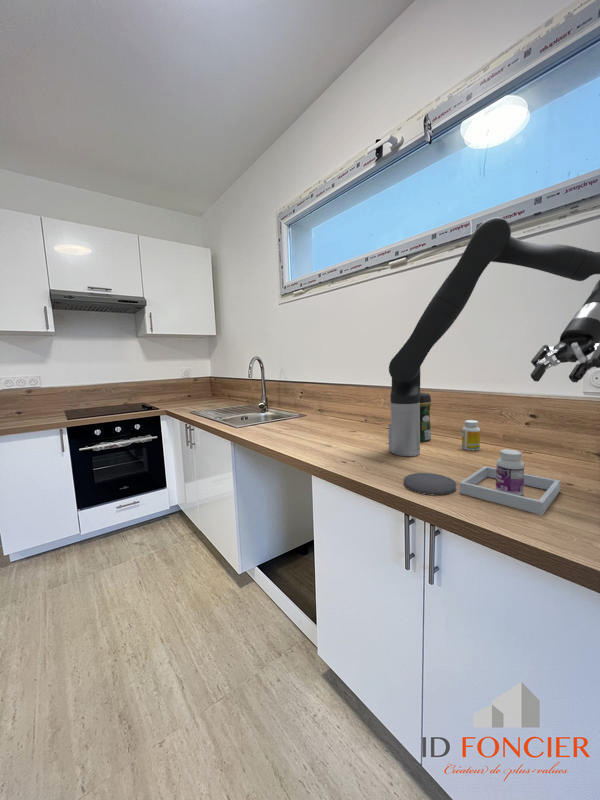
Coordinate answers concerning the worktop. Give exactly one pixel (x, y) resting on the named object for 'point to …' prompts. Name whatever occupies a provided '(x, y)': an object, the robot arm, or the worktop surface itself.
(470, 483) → the grey tray
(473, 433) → the supplement bottle
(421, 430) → the coffee jar
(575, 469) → the worktop surface
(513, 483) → the pill bottle
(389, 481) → the worktop surface
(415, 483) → the charcoal mat
